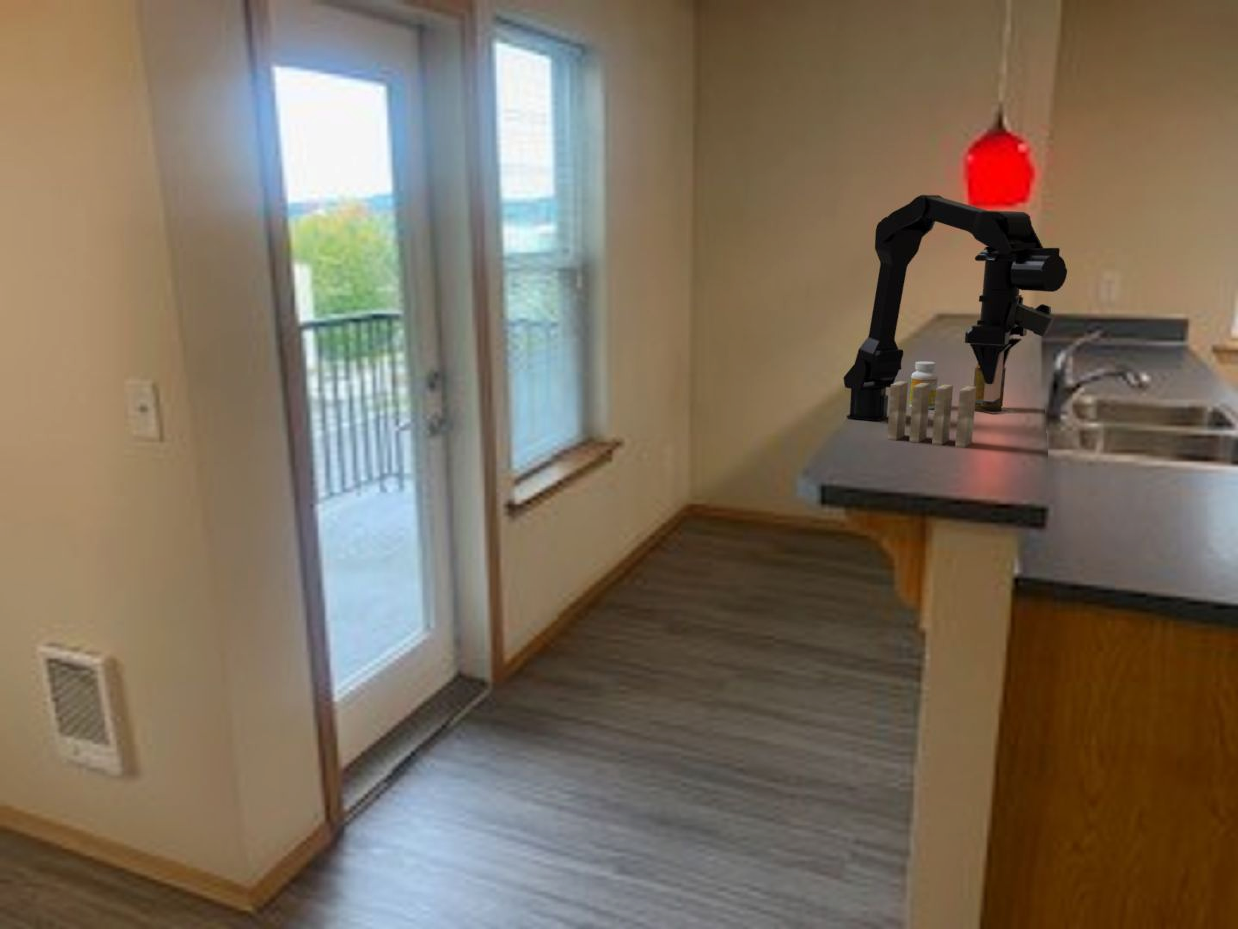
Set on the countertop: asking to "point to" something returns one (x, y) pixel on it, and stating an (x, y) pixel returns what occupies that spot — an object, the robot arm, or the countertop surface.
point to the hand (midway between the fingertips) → (992, 381)
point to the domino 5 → (994, 383)
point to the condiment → (979, 403)
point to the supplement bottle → (925, 380)
